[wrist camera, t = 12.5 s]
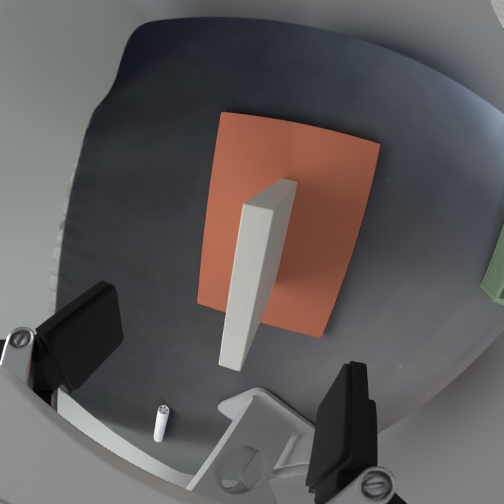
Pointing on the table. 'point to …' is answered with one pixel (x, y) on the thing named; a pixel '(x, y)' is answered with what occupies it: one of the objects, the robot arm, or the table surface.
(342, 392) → the robot arm
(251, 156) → the mat
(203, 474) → the phone holder
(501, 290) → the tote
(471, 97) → the table surface
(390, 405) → the table surface
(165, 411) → the marker
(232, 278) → the board
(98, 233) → the table surface
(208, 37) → the table surface
